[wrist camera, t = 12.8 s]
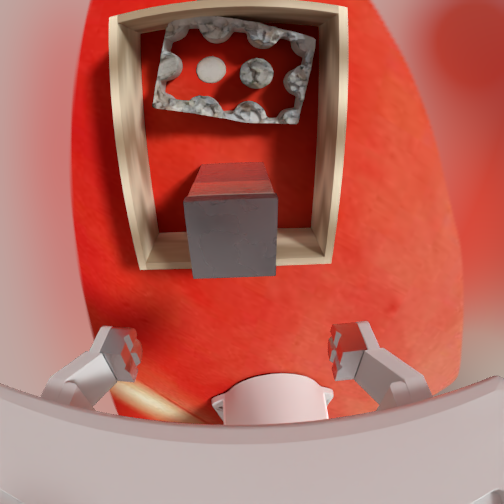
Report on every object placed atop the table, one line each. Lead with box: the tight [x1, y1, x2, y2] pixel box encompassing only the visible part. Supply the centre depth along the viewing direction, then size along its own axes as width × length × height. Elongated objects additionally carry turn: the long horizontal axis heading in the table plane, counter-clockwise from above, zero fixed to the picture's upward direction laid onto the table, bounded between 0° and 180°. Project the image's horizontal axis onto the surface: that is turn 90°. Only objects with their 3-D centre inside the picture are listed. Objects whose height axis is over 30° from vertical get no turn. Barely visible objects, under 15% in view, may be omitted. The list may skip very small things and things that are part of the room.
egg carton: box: [152, 16, 316, 124], centre depth 18 cm, size 11×8×4 cm
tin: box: [183, 162, 278, 279], centre depth 21 cm, size 5×5×8 cm
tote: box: [109, 0, 348, 270], centre depth 20 cm, size 21×15×5 cm
